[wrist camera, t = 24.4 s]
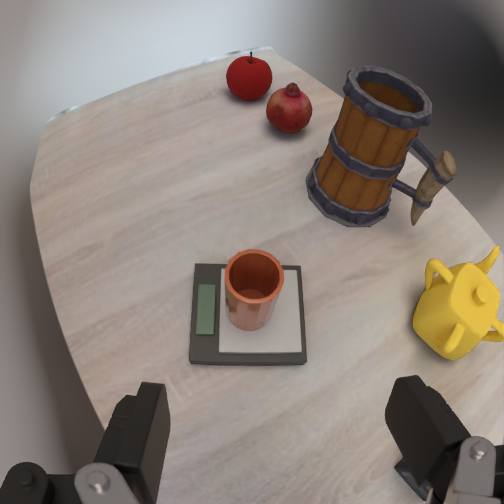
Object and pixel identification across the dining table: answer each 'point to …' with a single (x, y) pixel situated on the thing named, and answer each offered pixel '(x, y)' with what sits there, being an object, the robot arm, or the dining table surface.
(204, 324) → the scale
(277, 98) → the fruit
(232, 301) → the cup
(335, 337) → the dining table surface
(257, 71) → the apple
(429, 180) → the mug
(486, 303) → the teapot
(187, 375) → the dining table surface
